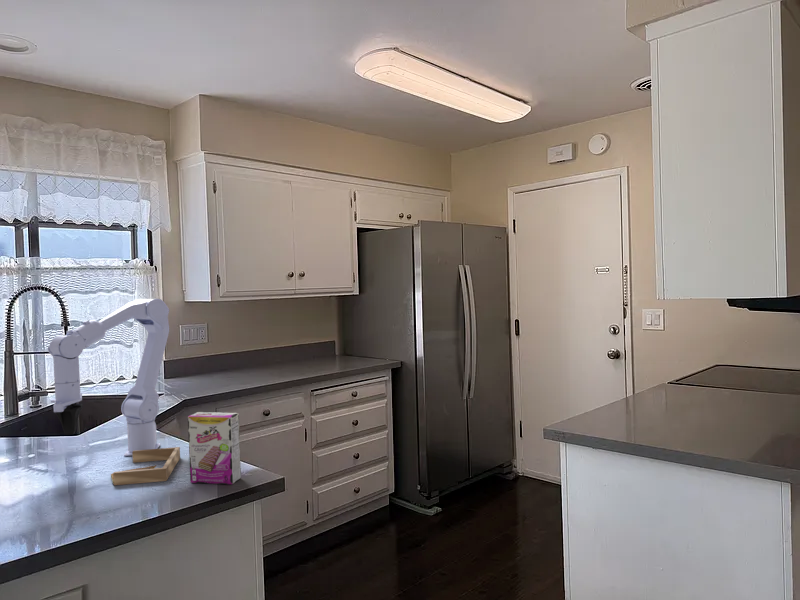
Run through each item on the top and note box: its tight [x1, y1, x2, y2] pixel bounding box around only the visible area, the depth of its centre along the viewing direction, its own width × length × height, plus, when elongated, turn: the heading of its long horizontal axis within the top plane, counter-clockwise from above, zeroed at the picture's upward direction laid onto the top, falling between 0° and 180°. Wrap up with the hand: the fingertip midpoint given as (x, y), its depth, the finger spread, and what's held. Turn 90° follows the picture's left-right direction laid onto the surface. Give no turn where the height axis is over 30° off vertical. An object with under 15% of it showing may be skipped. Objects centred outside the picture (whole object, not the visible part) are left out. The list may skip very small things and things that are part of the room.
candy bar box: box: [187, 411, 242, 485], centre depth 143 cm, size 11×5×16 cm, turn 80°
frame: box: [113, 446, 181, 486], centre depth 153 cm, size 19×12×3 cm, turn 11°
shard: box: [110, 464, 157, 484], centre depth 148 cm, size 11×8×2 cm
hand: (70, 433), depth 154 cm, fingers closed
